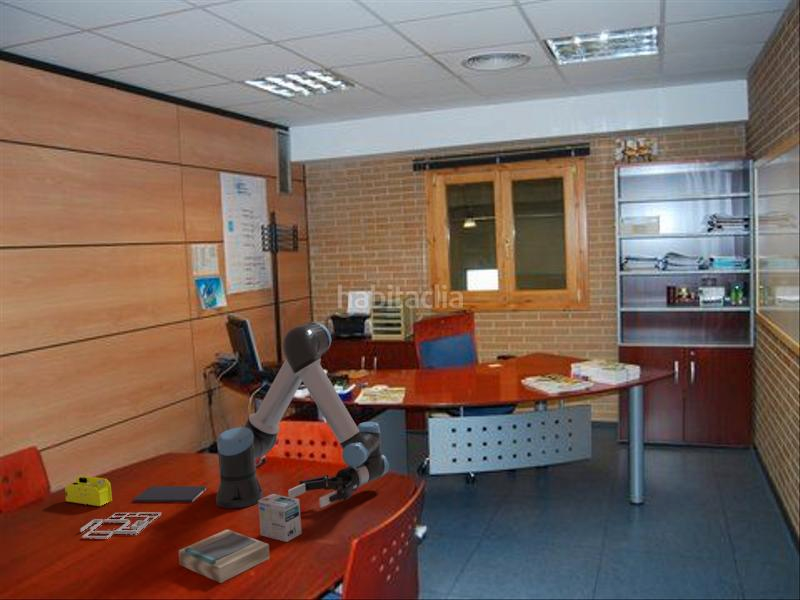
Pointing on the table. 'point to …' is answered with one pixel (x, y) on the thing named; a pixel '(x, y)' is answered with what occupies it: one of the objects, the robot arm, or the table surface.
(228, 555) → the dock
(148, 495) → the notebook
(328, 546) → the table surface
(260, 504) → the light bulb box
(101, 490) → the yellow toy chassis
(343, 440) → the robot arm
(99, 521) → the floor plan model
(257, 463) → the race car
